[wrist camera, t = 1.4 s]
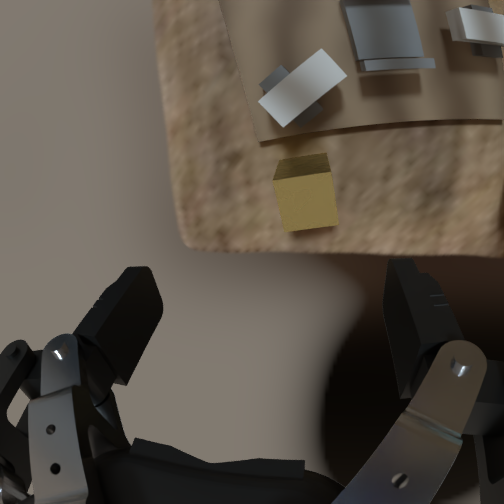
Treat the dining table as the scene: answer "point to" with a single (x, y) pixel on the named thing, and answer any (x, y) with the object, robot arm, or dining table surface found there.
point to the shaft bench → (365, 62)
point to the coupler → (305, 193)
